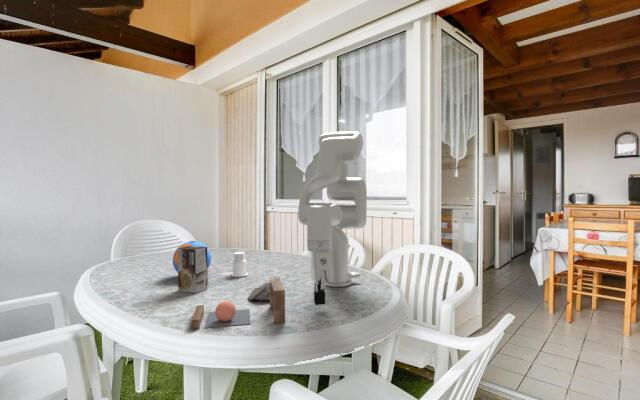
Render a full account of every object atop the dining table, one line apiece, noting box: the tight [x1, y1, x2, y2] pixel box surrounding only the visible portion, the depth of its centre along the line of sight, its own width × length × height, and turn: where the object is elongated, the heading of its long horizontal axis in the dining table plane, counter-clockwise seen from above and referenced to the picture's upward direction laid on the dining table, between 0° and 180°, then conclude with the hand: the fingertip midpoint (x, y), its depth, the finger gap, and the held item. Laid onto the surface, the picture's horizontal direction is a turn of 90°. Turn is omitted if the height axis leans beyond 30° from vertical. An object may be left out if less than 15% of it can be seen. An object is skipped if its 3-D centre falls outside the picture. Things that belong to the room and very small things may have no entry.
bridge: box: [269, 277, 286, 325], centre depth 103 cm, size 3×15×9 cm, turn 13°
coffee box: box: [177, 246, 209, 294], centre depth 129 cm, size 9×6×16 cm
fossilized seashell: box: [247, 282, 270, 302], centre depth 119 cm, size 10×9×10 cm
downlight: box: [231, 251, 249, 278], centre depth 151 cm, size 8×7×10 cm
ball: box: [214, 300, 237, 322], centre depth 98 cm, size 6×6×6 cm
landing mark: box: [204, 308, 251, 329], centre depth 100 cm, size 12×12×1 cm
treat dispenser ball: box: [172, 240, 212, 273], centre depth 149 cm, size 16×15×15 cm
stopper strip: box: [190, 304, 205, 330], centre depth 98 cm, size 2×12×2 cm, turn 13°
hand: (319, 303), depth 107 cm, fingers closed
